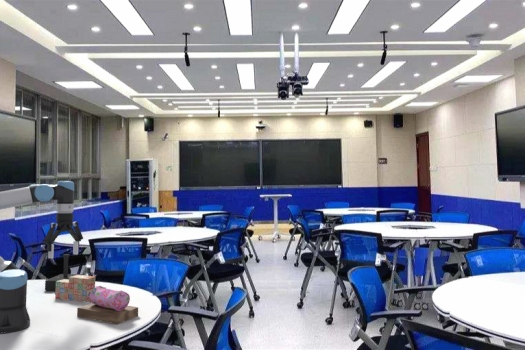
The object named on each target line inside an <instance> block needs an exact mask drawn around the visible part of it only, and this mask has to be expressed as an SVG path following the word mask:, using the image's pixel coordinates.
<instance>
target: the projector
mask: <svg viewBox="0 0 525 350" xmlns="http://www.w3.org/2000/svg"><path fill="white" fill-rule="evenodd" d="M62 258H63V273H61V274H58V275H55V276H53V277H51V278H48V279H46V280H45V281H44V286H45V287H44V291H46V292H55V290H56V287H55V285H56V281H59V280H63V279H68V280H69V277H71V276H75V275H84V276H85V274H83V273H75V274H74V273H69V258H70V254H68V253H65V254H63V255H62Z"/></svg>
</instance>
